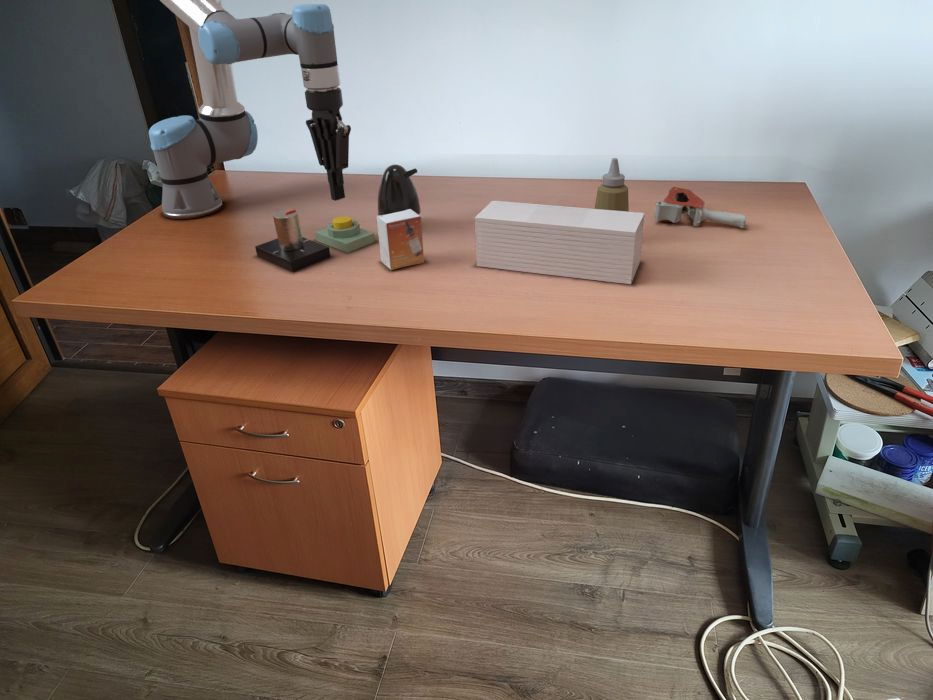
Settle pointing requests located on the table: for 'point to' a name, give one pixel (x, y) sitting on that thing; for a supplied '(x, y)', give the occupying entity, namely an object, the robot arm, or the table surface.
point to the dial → (288, 230)
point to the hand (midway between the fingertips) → (338, 198)
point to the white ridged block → (560, 240)
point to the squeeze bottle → (613, 190)
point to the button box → (345, 237)
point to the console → (293, 254)
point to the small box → (400, 239)
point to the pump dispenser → (397, 191)
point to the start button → (342, 222)
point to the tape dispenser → (692, 209)
